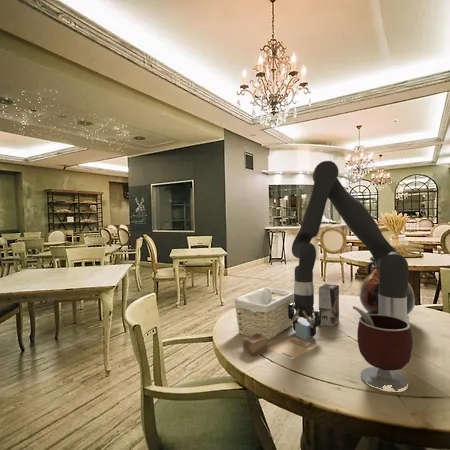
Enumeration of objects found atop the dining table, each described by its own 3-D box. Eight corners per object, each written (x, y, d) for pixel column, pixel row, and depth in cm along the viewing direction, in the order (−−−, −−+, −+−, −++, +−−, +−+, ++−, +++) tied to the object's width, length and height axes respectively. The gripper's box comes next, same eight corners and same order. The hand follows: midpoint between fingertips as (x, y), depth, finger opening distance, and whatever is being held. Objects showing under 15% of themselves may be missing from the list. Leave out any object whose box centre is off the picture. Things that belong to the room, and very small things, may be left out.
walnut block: (267, 351, 106) (267, 337, 106) (253, 357, 101) (253, 343, 101) (257, 346, 110) (256, 333, 109) (243, 352, 105) (242, 338, 105)
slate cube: (313, 336, 118) (313, 323, 118) (306, 339, 114) (306, 326, 114) (302, 332, 122) (302, 320, 121) (295, 335, 118) (295, 323, 118)
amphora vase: (426, 324, 126) (427, 259, 125) (390, 333, 118) (389, 263, 117) (383, 310, 146) (383, 253, 145) (349, 316, 138) (348, 256, 137)
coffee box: (333, 327, 126) (333, 289, 126) (318, 324, 130) (317, 287, 129) (339, 320, 133) (339, 285, 133) (325, 317, 137) (325, 283, 137)
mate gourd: (416, 378, 86) (416, 310, 86) (406, 401, 76) (406, 324, 75) (360, 361, 97) (360, 300, 96) (345, 380, 86) (344, 311, 86)
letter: (317, 346, 109) (317, 345, 109) (291, 359, 99) (291, 359, 99) (292, 336, 117) (292, 336, 117) (266, 348, 107) (266, 348, 107)
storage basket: (266, 344, 111) (266, 305, 111) (233, 333, 122) (232, 297, 121) (296, 325, 129) (296, 291, 129) (265, 317, 140) (264, 286, 139)
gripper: (325, 293, 114) (325, 336, 115) (294, 287, 125) (295, 325, 126) (314, 297, 110) (314, 341, 110) (283, 290, 121) (283, 330, 121)
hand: (304, 333), depth 118 cm, fingers open, 7 cm apart
